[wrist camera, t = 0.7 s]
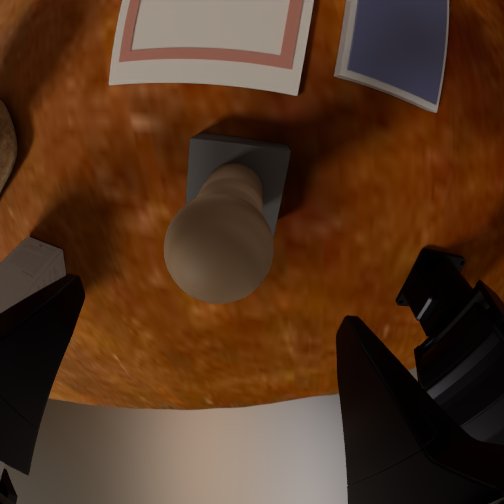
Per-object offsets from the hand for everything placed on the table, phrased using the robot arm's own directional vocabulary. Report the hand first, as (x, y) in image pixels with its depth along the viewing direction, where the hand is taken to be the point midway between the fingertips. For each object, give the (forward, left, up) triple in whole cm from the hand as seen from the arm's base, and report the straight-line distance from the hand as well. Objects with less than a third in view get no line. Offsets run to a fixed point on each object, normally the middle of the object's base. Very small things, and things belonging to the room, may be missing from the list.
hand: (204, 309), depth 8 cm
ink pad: (-9, -14, -13) cm, 21 cm away
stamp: (0, 0, -13) cm, 13 cm away
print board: (+4, -14, -13) cm, 19 cm away
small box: (+20, +12, -13) cm, 27 cm away
